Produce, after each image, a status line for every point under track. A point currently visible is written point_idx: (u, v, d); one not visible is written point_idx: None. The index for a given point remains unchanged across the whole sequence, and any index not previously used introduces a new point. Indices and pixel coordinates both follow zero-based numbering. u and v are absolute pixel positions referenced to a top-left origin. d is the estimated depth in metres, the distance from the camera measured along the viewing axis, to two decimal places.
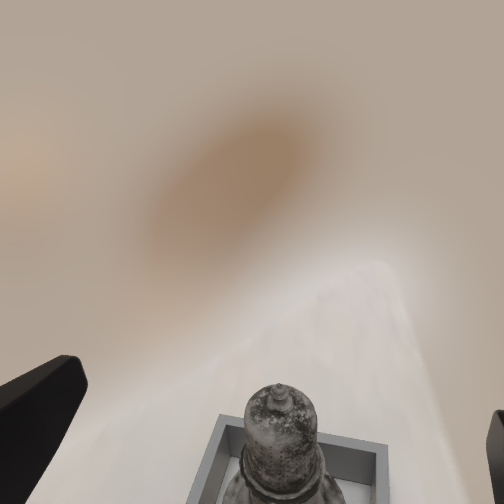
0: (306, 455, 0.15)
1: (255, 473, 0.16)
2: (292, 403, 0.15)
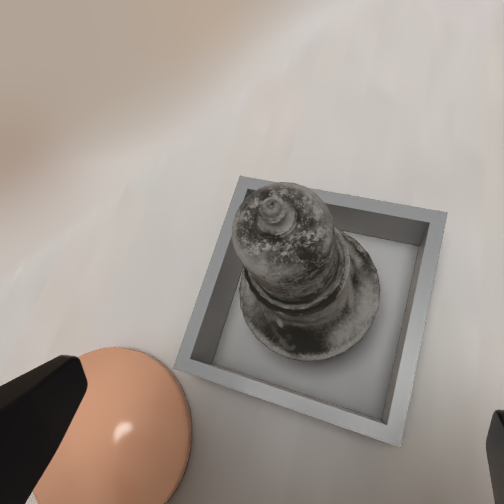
0: (317, 278, 0.11)
1: None
2: (294, 221, 0.10)
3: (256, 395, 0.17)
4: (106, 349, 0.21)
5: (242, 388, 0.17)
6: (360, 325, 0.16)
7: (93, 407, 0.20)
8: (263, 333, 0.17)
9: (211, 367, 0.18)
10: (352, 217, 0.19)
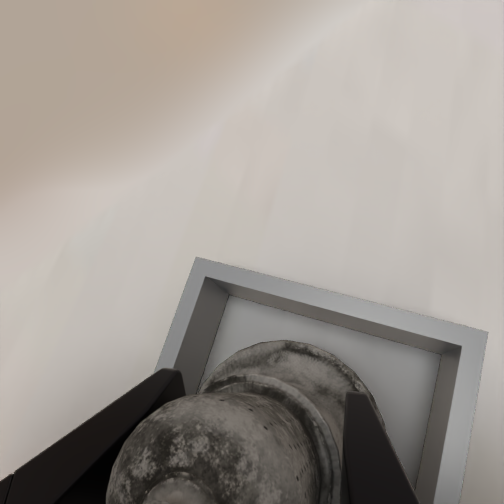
0: None
1: None
2: None
3: None
4: None
5: None
6: None
7: None
8: None
9: None
10: (349, 320, 0.14)
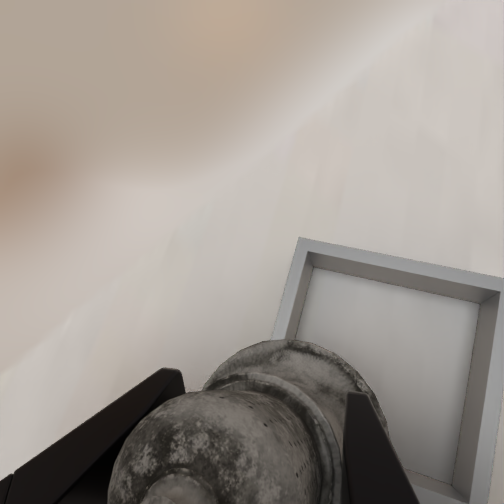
0: None
1: None
2: None
3: None
4: None
5: None
6: None
7: None
8: None
9: None
10: (415, 279, 0.19)
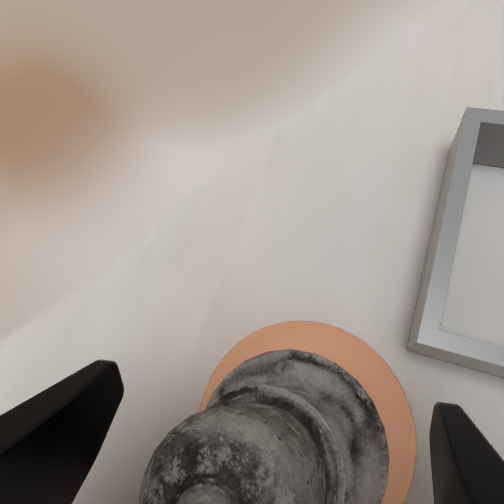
0: None
1: None
2: None
3: None
4: (290, 323, 0.17)
5: None
6: None
7: None
8: None
9: (473, 341, 0.14)
10: None
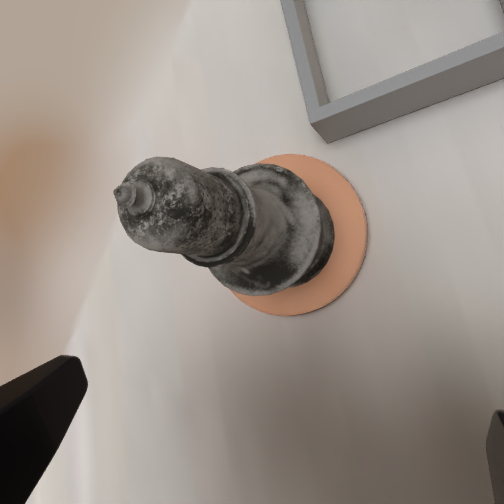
0: (211, 223, 0.12)
1: None
2: (152, 192, 0.11)
3: (396, 88, 0.17)
4: None
5: (380, 92, 0.18)
6: (311, 234, 0.17)
7: None
8: (240, 286, 0.18)
9: (342, 98, 0.18)
10: None
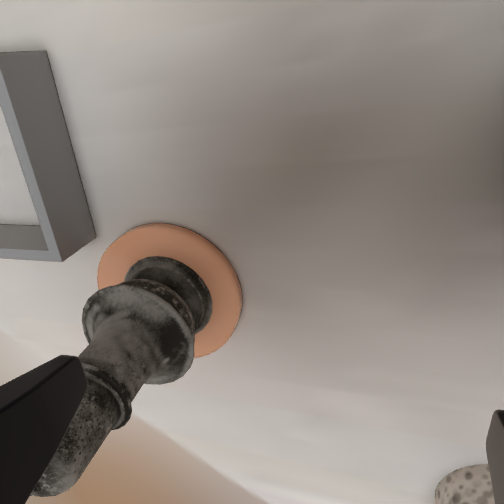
0: None
1: (110, 430, 0.16)
2: None
3: (37, 188, 0.19)
4: None
5: (40, 201, 0.19)
6: (142, 298, 0.18)
7: None
8: (183, 364, 0.20)
9: (43, 231, 0.20)
10: None
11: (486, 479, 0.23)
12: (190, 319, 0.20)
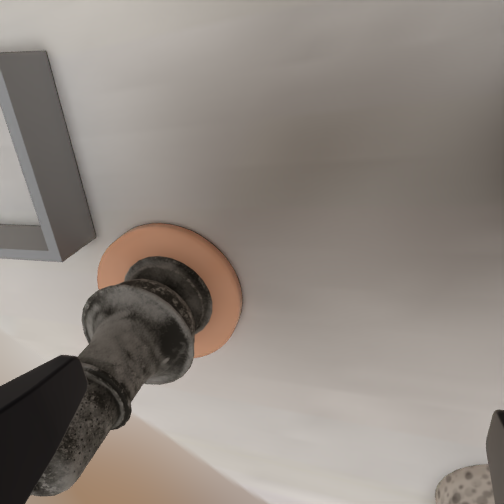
0: None
1: None
2: None
3: (37, 188, 0.19)
4: None
5: (40, 201, 0.19)
6: (142, 298, 0.18)
7: None
8: (183, 364, 0.20)
9: (43, 231, 0.20)
10: None
11: (486, 479, 0.23)
12: (190, 319, 0.20)
